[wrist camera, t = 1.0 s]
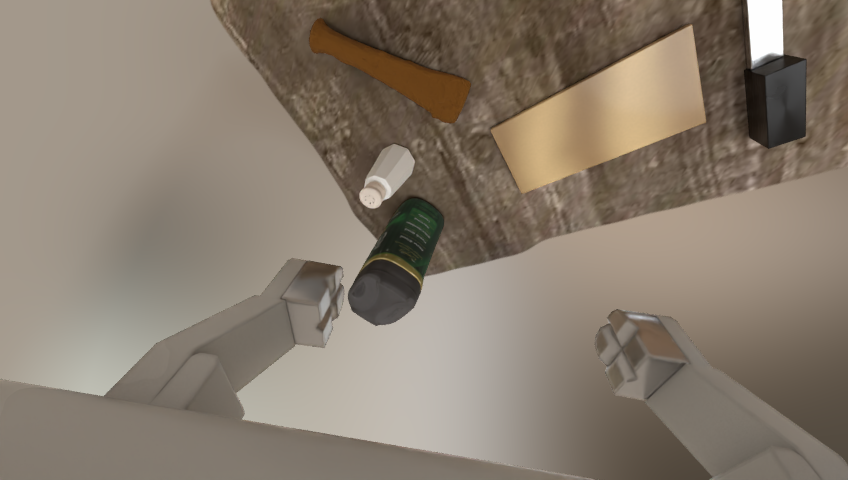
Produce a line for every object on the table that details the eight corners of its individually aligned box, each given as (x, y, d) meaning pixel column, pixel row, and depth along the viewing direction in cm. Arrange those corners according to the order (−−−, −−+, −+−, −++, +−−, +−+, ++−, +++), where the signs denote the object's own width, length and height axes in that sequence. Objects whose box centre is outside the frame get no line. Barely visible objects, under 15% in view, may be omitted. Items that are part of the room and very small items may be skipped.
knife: (733, -62, 24) (757, -69, 22) (778, -89, 23) (808, -100, 21) (749, 137, 32) (768, 149, 30) (783, 125, 31) (805, 136, 28)
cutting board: (688, 23, 28) (692, 23, 27) (703, 119, 32) (706, 122, 32) (490, 128, 38) (490, 130, 37) (521, 191, 42) (521, 194, 41)
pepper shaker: (423, 160, 43) (400, 199, 34) (401, 185, 46) (376, 225, 38) (392, 135, 41) (361, 169, 33) (373, 161, 45) (340, 198, 36)
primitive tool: (472, 81, 35) (469, 88, 32) (455, 125, 39) (450, 135, 36) (320, 13, 34) (304, 15, 32) (317, 64, 38) (302, 69, 35)
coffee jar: (412, 187, 46) (365, 270, 32) (452, 217, 47) (425, 308, 33) (383, 225, 52) (333, 308, 38) (419, 250, 53) (385, 339, 39)
